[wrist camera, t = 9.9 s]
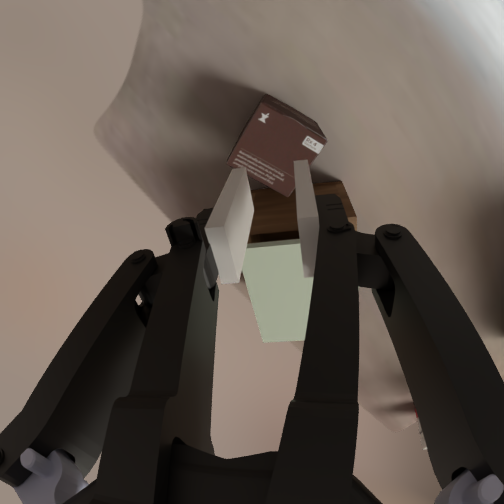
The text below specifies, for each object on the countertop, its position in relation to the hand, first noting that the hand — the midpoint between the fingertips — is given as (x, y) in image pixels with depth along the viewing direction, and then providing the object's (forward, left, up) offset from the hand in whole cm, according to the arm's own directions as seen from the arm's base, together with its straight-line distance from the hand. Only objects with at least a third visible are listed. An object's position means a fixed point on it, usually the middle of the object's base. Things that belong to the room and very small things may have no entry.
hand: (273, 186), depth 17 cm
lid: (+13, +1, -5) cm, 14 cm away
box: (0, 0, -15) cm, 15 cm away
